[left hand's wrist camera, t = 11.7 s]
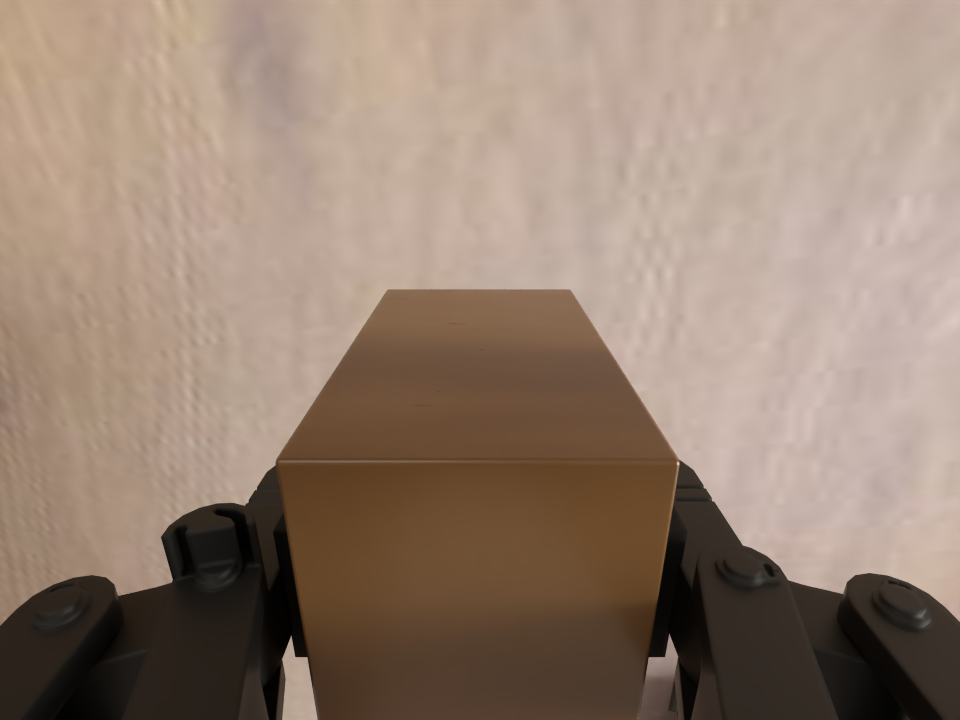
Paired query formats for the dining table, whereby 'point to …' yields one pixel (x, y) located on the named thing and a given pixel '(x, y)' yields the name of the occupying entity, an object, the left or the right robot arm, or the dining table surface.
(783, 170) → the dining table surface
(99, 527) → the dining table surface
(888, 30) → the dining table surface
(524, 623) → the bar
